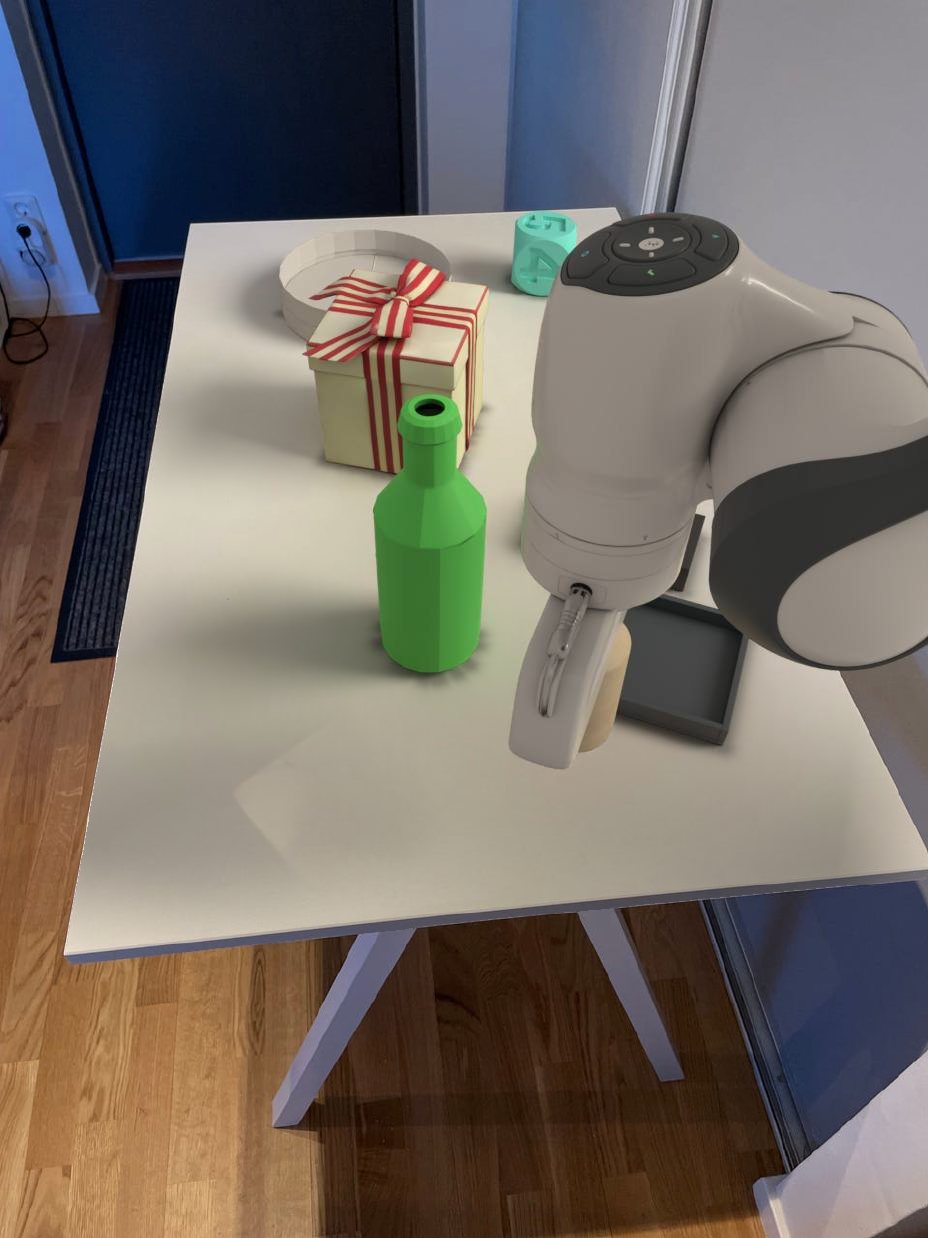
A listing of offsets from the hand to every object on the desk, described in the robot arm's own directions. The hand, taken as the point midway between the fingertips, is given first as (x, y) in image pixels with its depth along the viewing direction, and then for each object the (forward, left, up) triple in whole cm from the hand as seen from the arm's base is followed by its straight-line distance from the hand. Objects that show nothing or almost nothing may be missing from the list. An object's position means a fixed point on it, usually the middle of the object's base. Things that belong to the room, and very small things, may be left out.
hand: (578, 686), depth 60 cm
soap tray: (-5, -17, -16) cm, 24 cm away
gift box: (+30, -38, -16) cm, 51 cm away
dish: (+44, -62, -16) cm, 78 cm away
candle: (0, 0, -4) cm, 4 cm away
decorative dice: (+25, -77, -16) cm, 83 cm away
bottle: (+15, -12, -16) cm, 25 cm away
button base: (+2, -31, -16) cm, 35 cm away
